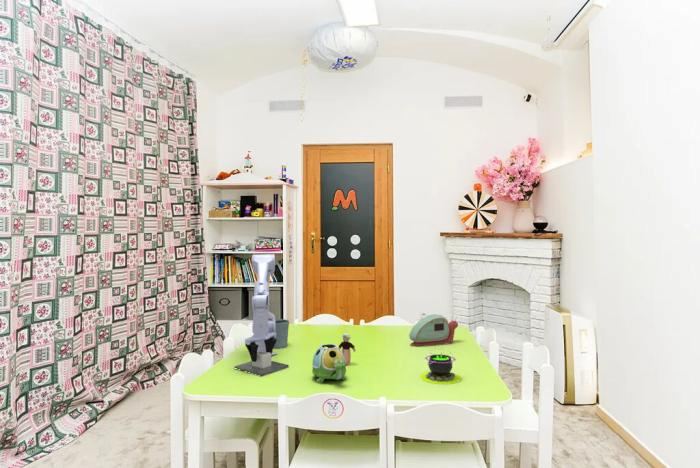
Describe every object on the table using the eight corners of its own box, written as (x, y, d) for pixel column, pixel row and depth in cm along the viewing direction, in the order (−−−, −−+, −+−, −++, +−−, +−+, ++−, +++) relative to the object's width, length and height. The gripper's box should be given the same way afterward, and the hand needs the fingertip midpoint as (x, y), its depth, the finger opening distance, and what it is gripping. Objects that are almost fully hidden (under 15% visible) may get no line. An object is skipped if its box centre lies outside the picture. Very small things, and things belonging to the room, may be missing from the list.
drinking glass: (263, 348, 214) (263, 322, 214) (273, 343, 223) (273, 318, 223) (283, 349, 211) (283, 323, 211) (292, 344, 220) (292, 319, 220)
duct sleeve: (271, 365, 182) (271, 353, 182) (262, 368, 179) (262, 355, 179) (260, 362, 186) (260, 350, 186) (251, 365, 183) (251, 352, 183)
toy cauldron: (432, 369, 180) (431, 341, 180) (468, 376, 170) (468, 346, 170) (412, 379, 168) (411, 349, 168) (449, 387, 159) (449, 355, 158)
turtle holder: (324, 390, 157) (323, 355, 157) (307, 375, 173) (307, 343, 173) (357, 385, 162) (357, 351, 162) (338, 370, 178) (337, 340, 178)
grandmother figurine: (336, 365, 186) (336, 333, 186) (338, 362, 189) (337, 331, 189) (355, 365, 185) (355, 334, 184) (356, 363, 188) (356, 332, 188)
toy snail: (413, 347, 213) (413, 317, 212) (406, 343, 220) (406, 315, 220) (461, 343, 220) (461, 314, 220) (453, 339, 227) (453, 311, 227)
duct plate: (234, 368, 182) (234, 358, 182) (261, 360, 193) (261, 351, 193) (261, 376, 172) (261, 365, 172) (288, 367, 183) (288, 357, 183)
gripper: (253, 329, 174) (253, 365, 175) (281, 323, 186) (281, 356, 186) (241, 327, 179) (241, 362, 179) (269, 321, 190) (269, 353, 190)
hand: (261, 359), depth 183 cm, fingers open, 7 cm apart
